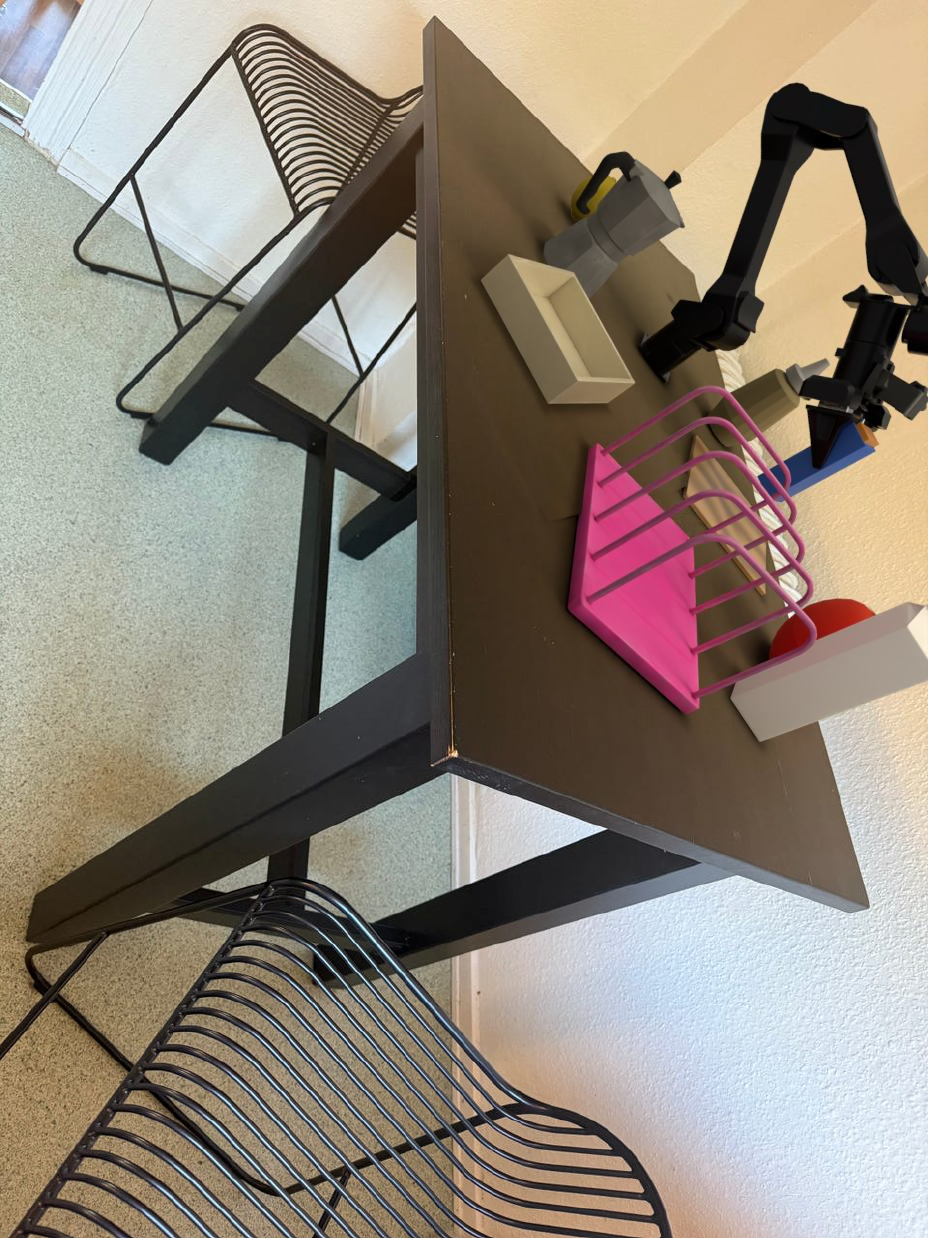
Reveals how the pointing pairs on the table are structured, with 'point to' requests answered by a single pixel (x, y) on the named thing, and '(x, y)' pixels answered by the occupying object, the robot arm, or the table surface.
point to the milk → (838, 673)
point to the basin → (557, 332)
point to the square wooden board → (723, 509)
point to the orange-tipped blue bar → (846, 452)
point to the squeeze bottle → (764, 401)
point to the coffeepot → (615, 221)
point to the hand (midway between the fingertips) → (823, 470)
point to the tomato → (818, 623)
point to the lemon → (594, 201)
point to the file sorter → (670, 562)
